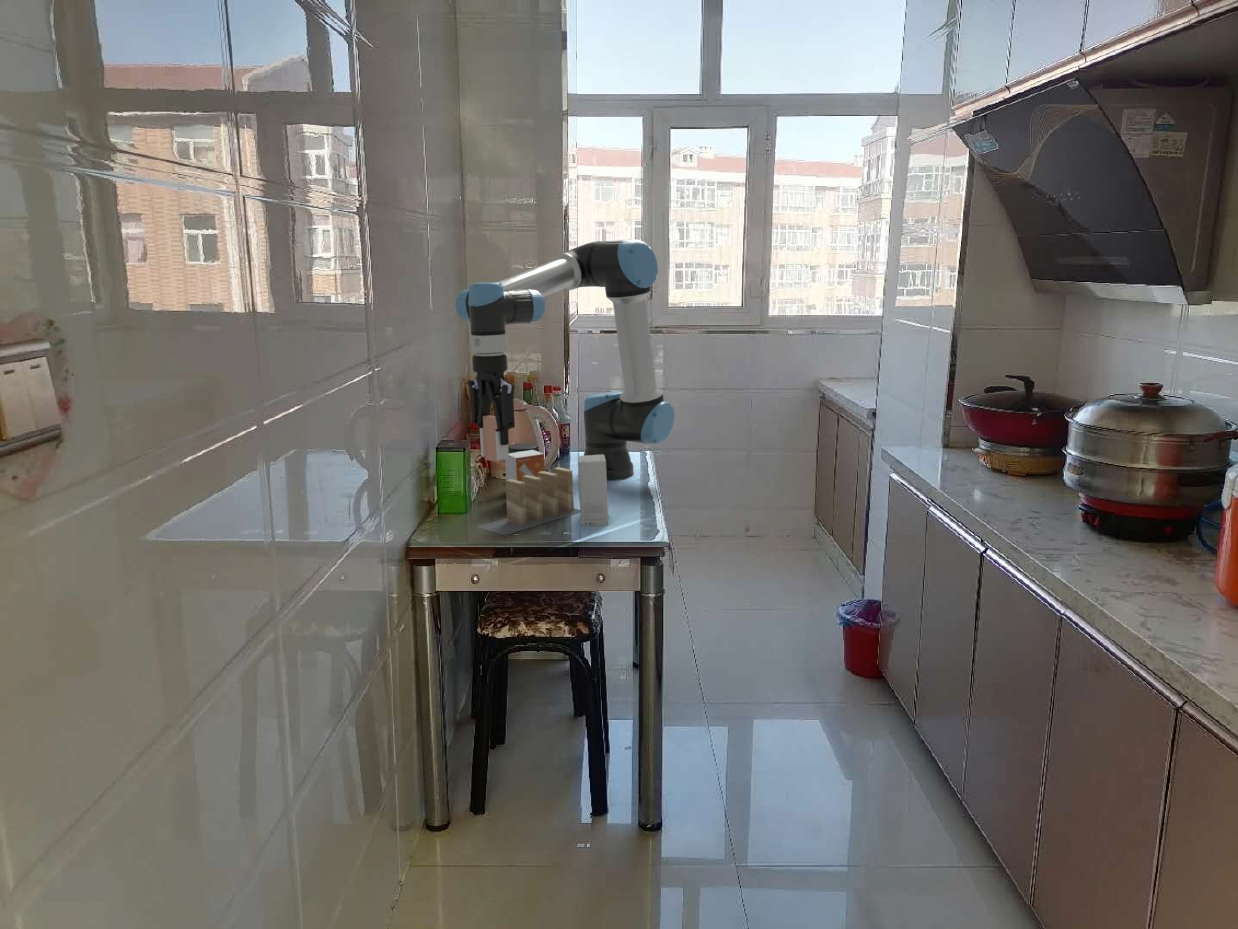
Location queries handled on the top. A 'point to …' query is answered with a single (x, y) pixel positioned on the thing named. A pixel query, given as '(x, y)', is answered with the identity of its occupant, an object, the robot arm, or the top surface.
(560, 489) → the domino
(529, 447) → the jar
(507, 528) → the mat
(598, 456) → the skincare box
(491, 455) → the domino
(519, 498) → the domino
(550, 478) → the domino
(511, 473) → the small box
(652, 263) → the robot arm
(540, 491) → the domino
